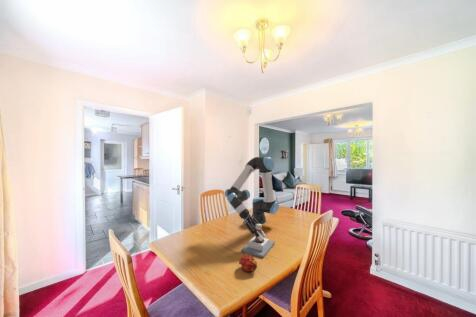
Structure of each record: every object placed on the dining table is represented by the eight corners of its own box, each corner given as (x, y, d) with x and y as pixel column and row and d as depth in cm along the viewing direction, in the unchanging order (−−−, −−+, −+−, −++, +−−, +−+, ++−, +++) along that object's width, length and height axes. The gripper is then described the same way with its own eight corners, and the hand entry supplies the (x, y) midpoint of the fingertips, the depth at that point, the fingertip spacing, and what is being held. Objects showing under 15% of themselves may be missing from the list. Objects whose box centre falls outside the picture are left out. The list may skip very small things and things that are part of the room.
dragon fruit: (240, 266, 110) (256, 278, 102) (233, 263, 105) (248, 276, 96) (247, 252, 113) (263, 263, 105) (240, 249, 107) (256, 260, 99)
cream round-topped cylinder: (256, 241, 133) (256, 223, 133) (262, 242, 131) (262, 224, 131) (254, 243, 129) (254, 225, 129) (260, 245, 127) (260, 226, 127)
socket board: (254, 239, 143) (254, 232, 143) (274, 243, 135) (274, 237, 135) (241, 251, 124) (241, 244, 124) (263, 258, 116) (263, 250, 116)
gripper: (244, 211, 145) (264, 236, 137) (233, 217, 130) (254, 246, 122) (250, 205, 142) (271, 231, 134) (239, 211, 127) (262, 240, 119)
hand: (263, 238), depth 128 cm, fingers closed on cream round-topped cylinder, 4 cm apart
